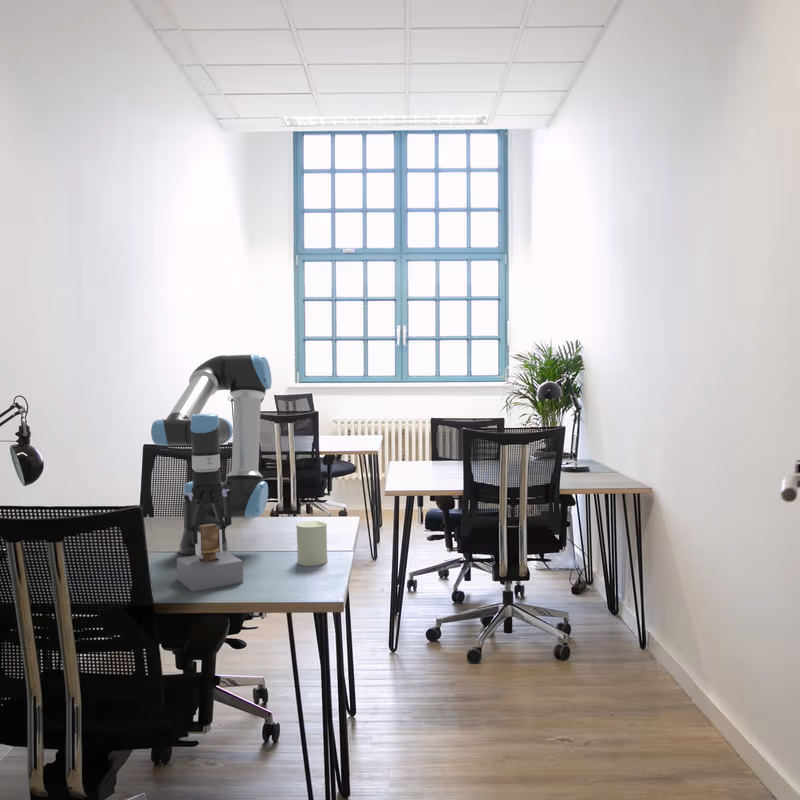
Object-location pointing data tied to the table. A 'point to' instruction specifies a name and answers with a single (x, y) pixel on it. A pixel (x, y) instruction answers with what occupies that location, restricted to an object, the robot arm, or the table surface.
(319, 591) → the table surface
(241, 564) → the socket block
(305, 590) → the table surface
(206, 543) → the walnut peg
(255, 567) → the table surface
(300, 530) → the can
